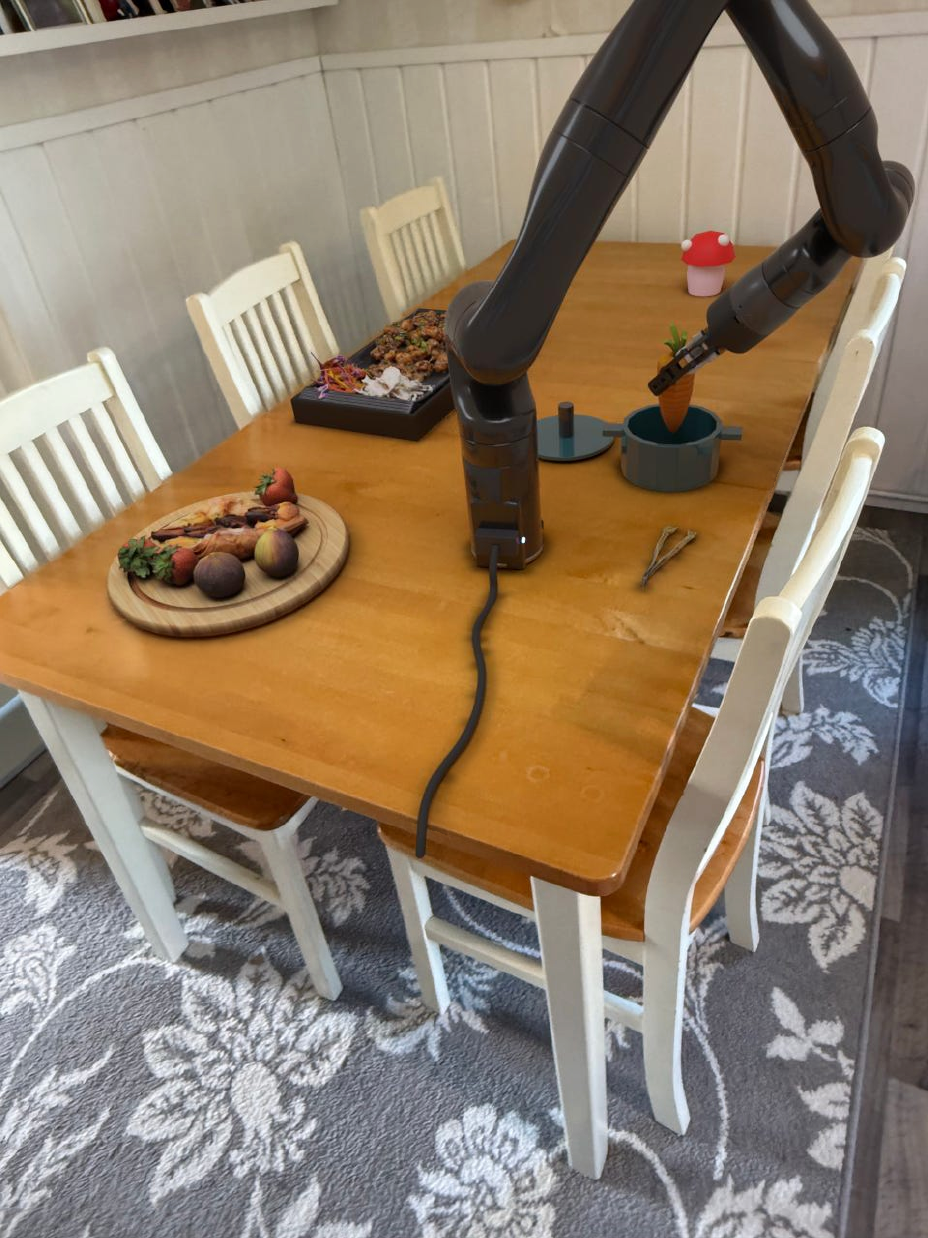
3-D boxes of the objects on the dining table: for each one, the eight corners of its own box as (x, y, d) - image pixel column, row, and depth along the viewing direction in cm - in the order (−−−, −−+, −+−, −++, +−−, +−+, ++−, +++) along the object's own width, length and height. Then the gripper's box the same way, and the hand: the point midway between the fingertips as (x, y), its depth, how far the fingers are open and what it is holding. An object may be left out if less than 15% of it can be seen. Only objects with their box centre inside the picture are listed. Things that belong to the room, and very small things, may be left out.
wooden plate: (249, 483, 132) (235, 434, 127) (399, 541, 115) (390, 488, 110) (64, 587, 114) (39, 535, 109) (210, 676, 97) (189, 619, 92)
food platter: (417, 441, 138) (409, 380, 131) (295, 422, 148) (281, 365, 141) (529, 339, 168) (526, 285, 162) (421, 329, 178) (415, 278, 172)
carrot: (691, 441, 117) (698, 333, 108) (654, 441, 119) (658, 334, 109) (691, 424, 121) (697, 319, 112) (655, 425, 122) (659, 321, 113)
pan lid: (607, 466, 126) (608, 427, 122) (511, 462, 129) (508, 425, 125) (619, 421, 136) (619, 385, 133) (529, 419, 140) (527, 383, 136)
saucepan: (737, 495, 116) (742, 448, 112) (597, 488, 121) (597, 444, 116) (738, 448, 126) (743, 404, 122) (609, 444, 131) (609, 401, 127)
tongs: (632, 585, 102) (633, 571, 101) (666, 533, 111) (667, 520, 110) (666, 593, 101) (667, 579, 99) (697, 540, 110) (699, 526, 108)
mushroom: (668, 290, 182) (671, 230, 175) (710, 278, 186) (715, 219, 178) (699, 302, 175) (704, 241, 167) (742, 290, 178) (749, 229, 170)
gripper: (763, 263, 106) (673, 342, 120) (707, 299, 98) (617, 379, 112) (799, 312, 107) (704, 385, 121) (746, 352, 99) (651, 425, 113)
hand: (663, 382), depth 117 cm, fingers closed on carrot, 4 cm apart
